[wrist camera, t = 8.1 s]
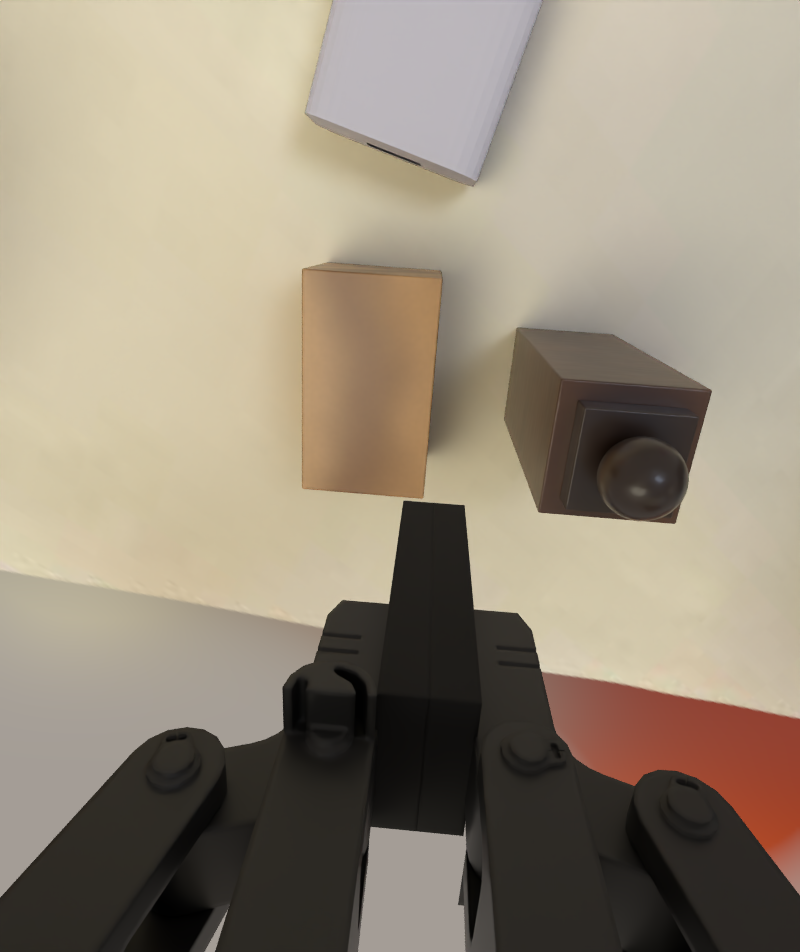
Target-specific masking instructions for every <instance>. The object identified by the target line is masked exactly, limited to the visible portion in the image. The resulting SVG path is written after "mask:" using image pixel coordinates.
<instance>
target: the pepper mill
mask: <svg viewBox="0 0 800 952" xmlns="http://www.w3.org/2000/svg"><path fill="white" fill-rule="evenodd" d="M711 393H712V391H711V390H710V389H708V388H707V387H705V386H703V385H701V384H700V383H698V382H696V381H694V380H692V379H691V378H689V377H687V376H685V375H684V374H682V373H680V372H678V371H676V370H675V369H673V368H671V367H669V366H668V365H666V364H664V363H662V362H660V361H659V360H657V359H655V358H653V357H652V356H650V355H648V354H646V353H645V352H643V351H641V350H639V349H637V348H636V347H634V346H632V345H630V344H629V343H627V342H625V341H623V340H621V339H620V338H618V337H616V336H614V335H610V334H596V333H583V332H569V331H556V330H542V329H529V328H517V330H516V338H515V345H514V352H513V359H512V366H511V374H510V381H509V388H508V395H507V402H506V410H505V417H504V420H505V423H506V426H507V428H508V431H509V434H510V436H511V439H512V442H513V445H514V447H515V450H516V453H517V455H518V458H519V461H520V463H521V466H522V469H523V472H524V474H525V477H526V480H527V482H528V485H529V488H530V491H531V493H532V496H533V499H534V501H535V504H536V507H537V510H538V512H540V513H552V514H564V515H576V516H588V517H600V518H612V519H624V520H634V521H648V522H660V523H672V524H675V523H676V519H677V516H678V512H679V509H680V505H681V502H682V500H683V498H684V496H685V494H686V492H687V489H688V482H689V472H690V469H691V465H692V461H693V458H694V454H695V451H696V447H697V443H698V440H699V436H700V433H701V429H702V425H703V422H704V418H705V414H706V411H707V407H708V404H709V400H710V396H711Z"/></svg>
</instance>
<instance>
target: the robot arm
mask: <svg viewBox="0 0 800 952" xmlns="http://www.w3.org/2000/svg"><path fill="white" fill-rule="evenodd" d="M283 720H284V721H283V722H284V729H283V730H282V731H280V732H279V733H278V734H276V735H274V736H271V737H269V738H268V739H265V740H262V741H258V742H255V743H251V744H246V745H240V746H235V747H229V748H224V747H223V746H222V744H221V743H220V741H219V739H218V738H217V737H216V736H214V735H213V734H211V733H209V732H207V731H206V730H203V729H197V728H189V727H186V728H179V729H174V730H167V731H165V732H163V733H161V734H159V735H156V736H154V737H152V738H150V739H148V740H147V741H146V742H145V743H143V744H142V745H141V746H140V747H138V748H137V749H136V750H135V751H134V752H133V753H132V754H131V755H130V756H129V757H128V758H127V759H126V761H124V763H123V764H122V765H121V766H120V767H119V768H118V769H117V770H116V771H115V773H113V775H112V776H111V777H110V778H109V779H108V780H107V781H106V782H105V783H104V784H103V786H102V787H101V788H100V789H99V790H98V791H97V792H96V793H95V794H94V795H93V797H92V798H91V799H90V800H89V801H88V802H87V803H86V804H85V805H84V806H83V808H82V809H81V810H80V811H79V812H78V813H77V814H76V815H75V816H74V817H73V818H72V820H71V821H70V822H69V823H68V824H67V825H66V826H65V827H64V828H63V829H62V831H61V832H60V833H59V834H58V835H57V836H56V837H55V838H54V839H53V840H52V842H51V843H50V844H49V845H48V846H47V847H46V848H45V849H44V850H43V851H42V853H41V854H40V855H39V856H38V857H37V858H36V859H35V860H34V861H33V862H32V863H31V865H30V866H29V867H28V868H27V869H26V870H25V871H24V872H23V873H22V874H21V876H20V877H19V878H18V879H17V880H16V881H15V882H14V883H13V884H12V885H11V887H10V888H9V889H8V890H7V891H6V892H5V893H4V894H3V895H2V896H1V897H0V952H204V951H205V949H206V948H207V946H208V944H209V942H210V941H211V938H212V937H213V935H214V933H215V931H216V930H217V928H218V926H219V924H220V922H221V921H222V918H223V917H224V915H225V913H226V912H227V910H228V912H227V915H226V918H225V922H224V925H223V928H222V931H221V934H220V938H219V941H218V945H217V947H216V950H215V952H358V945H359V936H360V927H361V918H362V909H363V901H364V892H365V882H366V874H367V866H368V849H369V836H370V827H379V828H389V829H399V830H409V831H420V832H430V833H440V834H450V835H460V836H463V834H464V827H465V824H466V847H467V849H466V855H465V862H464V869H463V876H462V882H461V889H460V896H459V903H458V905H464V914H465V915H464V916H465V947H466V952H800V895H799V894H798V893H797V891H796V890H795V889H794V887H793V886H792V885H791V883H790V882H789V881H788V880H787V878H786V877H785V876H784V874H783V873H782V872H781V870H780V869H779V868H778V866H777V865H776V864H775V863H774V861H773V860H772V859H771V857H770V856H769V855H768V854H767V852H766V851H765V849H764V848H763V847H762V845H761V844H760V843H759V842H758V840H757V839H756V838H755V836H754V835H753V834H752V832H751V831H750V830H749V828H748V827H747V826H746V825H745V823H744V822H743V821H742V819H741V818H740V817H739V816H738V814H737V813H736V811H735V810H734V809H733V808H732V806H731V805H730V804H729V803H728V802H727V801H726V800H725V799H724V798H723V797H722V796H721V795H720V794H719V793H718V792H717V791H716V790H714V789H713V788H711V787H710V786H708V785H706V784H705V783H703V782H702V781H700V780H699V779H697V778H695V777H692V776H689V775H686V774H683V773H681V772H678V771H667V770H657V771H654V772H651V773H648V774H645V775H643V777H642V778H641V779H640V780H639V782H638V783H637V784H636V785H635V786H633V785H630V784H627V783H625V782H622V781H619V780H616V779H614V778H611V777H608V776H606V775H603V774H601V773H599V772H596V771H594V770H592V769H590V768H588V767H587V766H585V765H584V764H582V763H581V762H579V761H578V760H576V759H575V758H574V757H573V756H572V754H571V752H570V750H569V747H568V745H567V744H566V743H565V742H564V741H563V740H562V739H561V738H560V737H559V736H558V735H557V734H556V731H555V728H554V724H553V720H552V716H551V711H550V707H549V703H548V698H547V695H546V690H545V685H544V681H543V677H542V672H541V669H540V664H539V660H538V655H537V653H536V647H535V642H534V638H533V634H532V630H531V629H530V628H529V626H528V625H527V624H526V623H525V622H524V620H523V619H522V618H521V617H520V616H519V614H518V613H508V612H496V611H484V610H474V606H473V595H472V584H471V573H470V562H469V551H468V539H467V528H466V517H465V506H464V505H453V504H440V503H427V502H414V501H403V508H402V515H401V523H400V530H399V537H398V544H397V551H396V559H395V566H394V573H393V580H392V587H391V594H390V602H389V604H381V603H370V602H358V601H346V600H342V601H341V602H340V603H339V604H338V605H337V606H336V607H335V608H334V609H333V610H332V611H331V612H330V613H329V614H328V616H327V619H326V623H325V626H324V629H323V634H322V636H321V640H320V643H319V646H318V651H317V653H316V656H315V660H314V663H311V664H308V665H305V666H303V667H301V668H300V669H298V670H297V671H296V672H294V673H293V674H291V675H290V677H289V678H288V680H287V682H286V683H285V684H284V686H283ZM229 905H230V906H229ZM228 908H229V909H228Z"/></svg>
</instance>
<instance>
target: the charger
mask: <svg viewBox="0 0 800 952" xmlns="http://www.w3.org/2000/svg"><path fill="white" fill-rule="evenodd" d="M542 2H543V0H333V2H332V6H331V10H330V14H329V18H328V22H327V26H326V30H325V34H324V38H323V42H322V46H321V50H320V54H319V58H318V62H317V66H316V70H315V74H314V78H313V82H312V86H311V90H310V94H309V98H308V102H307V106H306V110H305V114H306V115H307V116H308V117H309V118H310V119H311V120H312V121H313V122H314V123H315V124H317V125H318V126H320V127H322V128H325V129H327V130H329V131H331V132H334V133H336V134H339V135H341V136H343V137H346V138H348V139H351V140H353V141H356V142H358V143H361V144H364V145H366V146H369V147H371V148H374V149H376V150H379V151H381V152H384V153H386V154H389V155H391V156H394V157H396V158H399V159H401V160H404V161H406V162H409V163H411V164H414V165H416V166H419V167H422V168H424V169H427V170H429V171H432V172H434V173H437V174H439V175H442V176H444V177H447V178H449V179H452V180H455V181H457V182H460V183H463V184H466V185H469V186H474V185H475V184H476V182H477V180H478V177H479V175H480V172H481V169H482V167H483V164H484V161H485V158H486V156H487V153H488V150H489V147H490V145H491V142H492V139H493V136H494V134H495V131H496V128H497V125H498V123H499V120H500V117H501V114H502V112H503V109H504V106H505V103H506V101H507V98H508V95H509V92H510V90H511V87H512V84H513V82H514V79H515V76H516V73H517V71H518V68H519V65H520V62H521V60H522V57H523V54H524V51H525V49H526V46H527V43H528V40H529V38H530V35H531V32H532V29H533V27H534V24H535V21H536V18H537V16H538V13H539V10H540V8H541V5H542Z"/></svg>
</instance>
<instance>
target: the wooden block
mask: <svg viewBox="0 0 800 952" xmlns="http://www.w3.org/2000/svg"><path fill="white" fill-rule="evenodd" d="M442 281H443V280H442V273H441V271H439V270H425V269H411V268H397V267H383V266H369V265H355V264H342V263H328V262H327V263H323V264H320V265H316V266H312V267H308V268H304V269H302V488H303V489H313V490H325V491H337V492H349V493H361V494H373V495H385V496H397V497H409V498H421V499H422V498H423V496H424V485H425V474H426V462H427V451H428V440H429V428H430V417H431V406H432V394H433V383H434V372H435V360H436V349H437V338H438V326H439V315H440V304H441V293H442Z"/></svg>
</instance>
